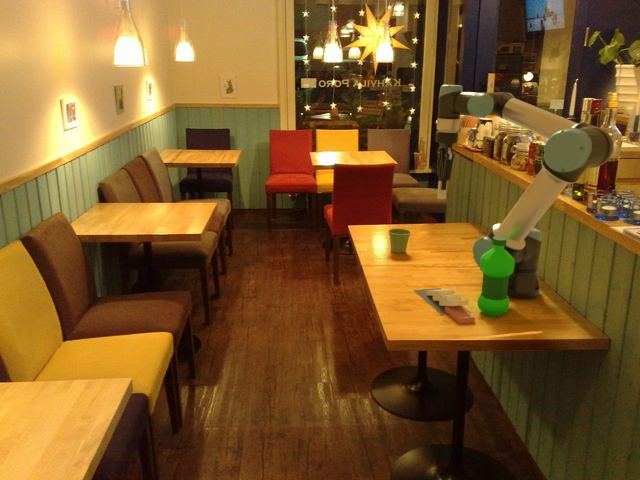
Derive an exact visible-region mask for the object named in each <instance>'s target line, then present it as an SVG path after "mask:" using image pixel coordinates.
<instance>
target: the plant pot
mask: <svg viewBox="0 0 640 480" xmlns="http://www.w3.org/2000/svg"><path fill="white" fill-rule="evenodd" d="M387 232H388V235H389V244H390V252H392V253H395V254H403V253H407V249H408V247H407V246H408V242H409V238H410V237H411V235H412V231H411V230H409V229H406V228H390V229H388V230H387Z"/></svg>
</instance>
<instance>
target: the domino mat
mask: <svg viewBox="0 0 640 480" xmlns="http://www.w3.org/2000/svg"><path fill="white" fill-rule="evenodd" d="M428 290H443V289H442V288H440V287H435V288H426V289H425V288H424V289H413V291H414V293H416V294H417V295H418V296H419V297H420V298H422V300H423V301H425V302H426V303H427V304H428V305H429V306H431V307H432V308H433V309H434V310H435V311H436V312H437V313H438V314H439V315H440V316H450V315H449V314H448V313H447V312H446V311H444V310H445V306H439V301H433V296H430V295H427V293H426V291H428ZM462 307H463V308H464V309H465V310H467V311H468V312H469V313H470V314H472V312H471V311H469V310H468V309H467V308H466V307H464V305H462Z"/></svg>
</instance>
